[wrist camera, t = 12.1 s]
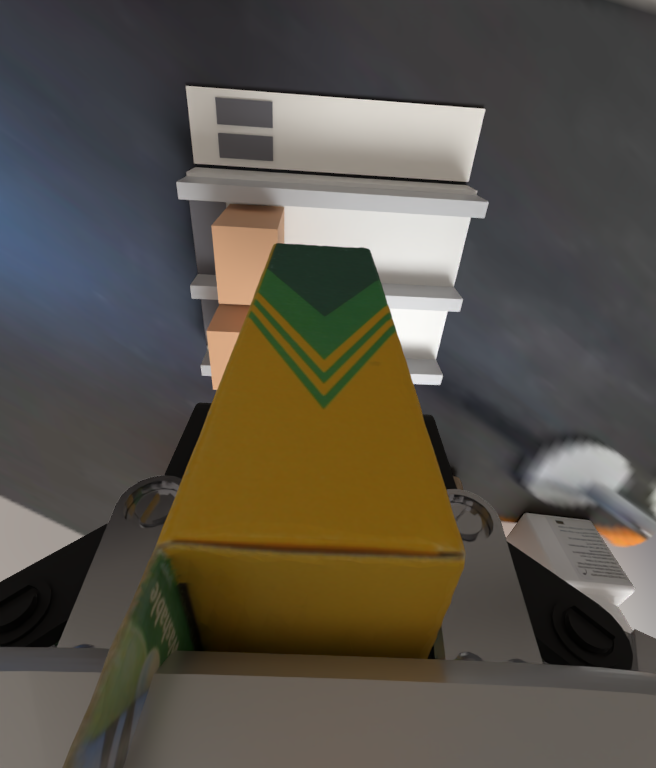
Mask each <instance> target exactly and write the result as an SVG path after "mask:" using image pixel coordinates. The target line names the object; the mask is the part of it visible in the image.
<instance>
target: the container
mask: <svg viewBox="0 0 656 768" xmlns="http://www.w3.org/2000/svg"><path fill="white" fill-rule="evenodd" d="M506 541H508V542H509V543H511V544H512V545H513V546H515V547H516V548H518V549H519V550H521V551H522V552H524V553H525V554H527V555H528V556H529V557H531V558H532V559H534V560H535V561H537V562H538V563H540V564H541V565H542V566H544V567H545V568H547V569H548V570H550V571H551V572H553V573H554V574H556V575H557V576H558V577H560V578H561V579H563V580H564V581H566V582H567V583H569V584H570V585H571V586H573V587H574V588H576V589H577V590H579V591H580V592H582V593H583V594H585V595H586V596H587V597H589V598H590V599H592V600H593V601H595V602H596V603H598V604H599V605H600V606H601V607H603V608H604V609H605V610H606V611H607V612H609V613H610V614H611V615H612V616H613V617H614V619H615V620H616V621H617V622H618V623H619V624H620V626H621V627H622V628H623V630H624V631H626V632H628V633H631V632H632V631H633V630H632V629H631V627H630V625H629V624H628V622H627V620H626V619H625V617H624V615H623V614H622V612H621V610H620V609H619V607H618V606H619V605H620V604H621V603H622V602H623V601H625V600H626V599H627V598H628V597H629V596H630V595H631V594H632V593H634V591H635V589H634V586H633V585H632V583H631V582H630V580H629V579H628V577H627V576H626V574H625V573H624V571H623V570H622V568H621V566H620V565H619V563H618V562H617V560H616V559H615V558H614V556H613V554H612V553H611V551H610V550H609V548H608V547H607V545H606V544H605V542H604V541H603V539H602V537H601V536H600V534H599V533H598V531H597V530H596V528H595V527H594V525H593V524H592V522H591V521H590V520H584V519H576V518H567V517H559V516H550V515H541V514H533V513H524V514H523V516H522V517H521V518H520V520H519V521H518V523H517V524H516V525H515V527H514V528H513V530H512V531H511V532H510V534H509V535H508V536H507V538H506Z"/></svg>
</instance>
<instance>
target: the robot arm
mask: <svg viewBox="0 0 656 768" xmlns="http://www.w3.org/2000/svg"><path fill="white" fill-rule="evenodd" d="M211 404H212V403H198V404H197V405H196V406H195V408H194V410H193V412H192V415H191V417H190V419H189V421H188V424H187V426H186V428H185V430H184V432H183V435H182V437H181V439H180V441H179V444H178V446H177V448H176V450H175V453H174V455H173V457H172V459H171V461H170V464H169V466H168V468H167V470H166V473H165V475H161V476H154V477H150V478H147V479H144V480H141V481H139V482H138V483H136V484H134V485H133V486H131V487H130V488H128V489H127V490H126V491H125V492H124V493H123V494H122V495H121V497H120V498H119V500H118V502H117V503H116V505H115V508H114V510H113V512H112V515H111V517H110V520H109V522H108V523H107V524H105V525H104V526H102V527H100V528H98V529H96V530H94V531H93V532H91V533H89V534H87V535H85V536H84V537H82V538H80V539H78V540H76V541H74V542H73V543H71V544H69V545H67V546H65V547H63V548H62V549H60V550H58V551H56V552H54V553H52V554H51V555H49V556H47V557H45V558H43V559H41V560H40V561H38V562H36V563H34V564H32V565H31V566H29V567H27V568H25V569H23V570H21V571H20V572H18V573H16V574H14V575H12V576H10V577H9V578H7V579H5V580H3V581H1V582H0V768H62V767H63V765H64V762H65V760H66V757H67V755H68V752H69V750H70V747H71V745H72V742H73V740H74V738H75V736H76V733H77V731H78V729H79V727H80V724H81V722H82V720H83V718H84V715H85V713H86V711H87V709H88V706H89V704H90V701H91V699H92V696H93V693H94V691H95V688H96V685H97V683H98V680H99V677H100V675H101V672H102V669H103V666H104V663H105V660H106V657H107V654H108V651H109V649H110V647H111V645H112V642H113V640H114V638H115V636H116V633H117V631H118V629H119V627H120V625H121V623H122V621H123V619H124V617H125V615H126V613H127V611H128V609H129V607H130V605H131V602H132V600H133V598H134V595H135V593H136V591H137V588H138V586H139V584H140V581H141V579H142V576H143V574H144V572H145V569H146V567H147V564H148V562H149V560H150V558H151V555H152V553H153V551H154V549H155V546H156V544H157V541H158V539H159V536H160V533H161V531H162V528H163V525H164V523H165V521H166V518H167V516H168V513H169V511H170V509H171V506H172V504H173V501H174V499H175V497H176V494H177V491H178V489H179V486H180V483H181V480H182V478H183V475H184V473H185V470H186V467H187V465H188V462H189V460H190V457H191V455H192V453H193V450H194V448H195V445H196V443H197V441H198V438H199V436H200V433H201V431H202V428H203V425H204V422H205V420H206V417H207V414H208V412H209V409H210V407H211ZM422 415H423V414H422ZM423 418H424V422H425V426H426V428H427V431H428V434H429V437H430V440H431V443H432V446H433V449H434V453H435V456H436V459H437V462H438V465H439V468H440V472H441V475H442V478H443V481H444V484H445V487H446V491H447V494H448V497H449V501H450V504H451V508H452V511H453V515H454V518H455V521H456V524H457V527H458V530H459V532H460V535H461V538H462V541H463V545H464V549H465V553H466V555H465V564H464V569H463V571H462V574H461V576H460V578H459V581H458V584H457V586H456V588H455V591H454V593H453V595H452V600H451V604H450V606H449V608H448V610H447V612H446V614H445V616H444V618H443V622H442V626H441V627H440V629H439V631H438V634H437V637H436V640H435V642H434V644H433V646H432V648H431V651H430V653H429V656H428V658H427V659H412V658H386V657H358V656H329V655H300V654H270V653H240V652H208V651H174V652H173V653H172V654H171V655H170V656H169V657H168V658H167V659H166V660H165V661H164V662H163V664H162V665H161V666H160V667H159V669H158V670H157V671H156V672H155V673H154V675H153V679H152V682H151V685H150V688H149V691H148V694H147V697H146V700H145V703H144V706H143V709H142V712H141V715H140V718H139V721H138V724H137V727H136V730H135V733H134V736H133V739H132V743H131V746H130V749H129V752H128V755H127V758H126V761H125V764H124V767H123V768H656V639H655V638H653V637H651V636H649V635H646V634H644V633H642V632H640V631H638V630H634V631H632V632H631V633H628V632H626V631H624V630H623V628H622V627H621V626H620V624H619V623H618V622H617V621H616V620H615V619H614V617H613V616H612V615H611V614H610V613H609V612H607V611H606V610H605V609H604V608H603V607H601V606H600V605H599V604H598V603H596V602H595V601H593V600H592V599H590V598H589V597H587V596H586V595H585V594H583V593H582V592H580V591H579V590H577V589H576V588H574V587H573V586H571V585H570V584H569V583H567V582H566V581H564V580H563V579H561V578H560V577H558V576H557V575H556V574H554V573H553V572H551V571H550V570H548V569H547V568H545V567H544V566H542V565H541V564H540V563H538V562H537V561H535V560H534V559H532V558H531V557H529V556H528V555H527V554H525V553H524V552H522V551H521V550H519V549H518V548H516V547H515V546H513V545H512V544H511V543H509V542H508V541H506V537H505V534H504V531H503V528H502V524H501V521H500V519H499V517H498V515H497V512H496V511H495V510H494V509H493V508H492V506H491V505H490V504H489V503H488V502H486V501H485V500H484V499H482V498H481V497H480V496H477V495H475V494H473V493H471V492H469V491H464V490H460V489H457V487H456V484H455V481H454V478H453V475H452V471H451V468H450V465H449V462H448V459H447V456H446V453H445V450H444V447H443V444H442V441H441V438H440V435H439V432H438V429H437V426H436V423H435V420H434V418H433V416H431V415H423Z"/></svg>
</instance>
